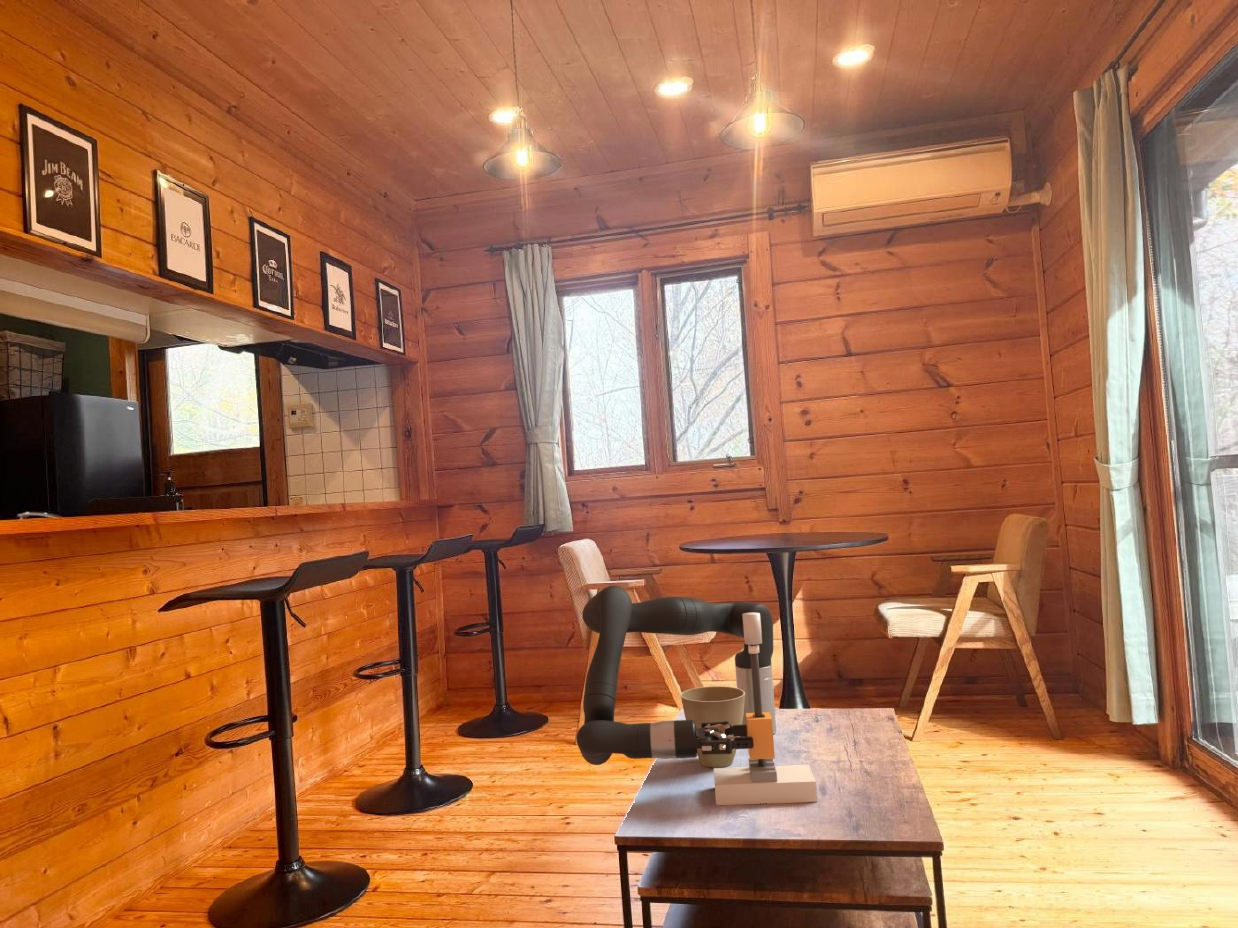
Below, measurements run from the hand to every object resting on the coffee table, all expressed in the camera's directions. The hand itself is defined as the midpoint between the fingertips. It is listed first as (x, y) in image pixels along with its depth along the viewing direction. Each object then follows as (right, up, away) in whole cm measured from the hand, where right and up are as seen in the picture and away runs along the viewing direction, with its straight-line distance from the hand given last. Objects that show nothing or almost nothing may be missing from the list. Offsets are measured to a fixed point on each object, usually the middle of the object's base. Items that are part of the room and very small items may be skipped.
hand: (752, 735), depth 173 cm
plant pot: (-5, -13, +21) cm, 25 cm away
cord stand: (+2, -12, -1) cm, 12 cm away
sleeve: (+2, -4, 0) cm, 4 cm away
